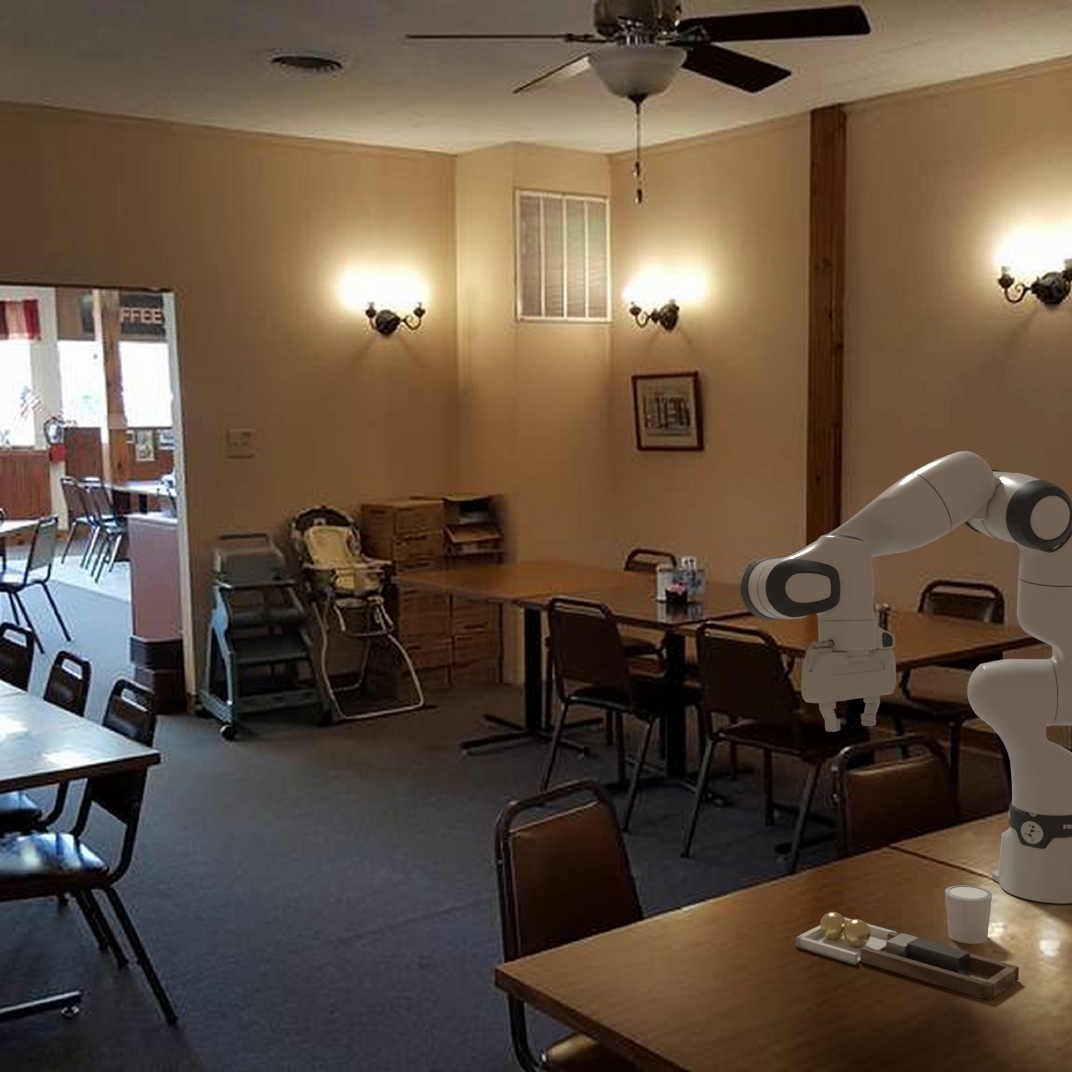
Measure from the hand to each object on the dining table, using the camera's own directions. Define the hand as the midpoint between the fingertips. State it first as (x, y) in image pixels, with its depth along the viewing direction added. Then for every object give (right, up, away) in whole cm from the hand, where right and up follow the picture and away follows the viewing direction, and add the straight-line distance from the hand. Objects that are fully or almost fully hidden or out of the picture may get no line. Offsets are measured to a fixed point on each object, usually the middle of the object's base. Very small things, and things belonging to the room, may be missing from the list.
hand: (851, 728), depth 203 cm
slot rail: (+9, -32, -16) cm, 37 cm away
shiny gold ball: (-2, -30, -5) cm, 31 cm away
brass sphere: (+1, -30, -8) cm, 31 cm away
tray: (-2, -32, -5) cm, 32 cm away
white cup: (+17, -32, -3) cm, 36 cm away
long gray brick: (+4, -30, -11) cm, 33 cm away
